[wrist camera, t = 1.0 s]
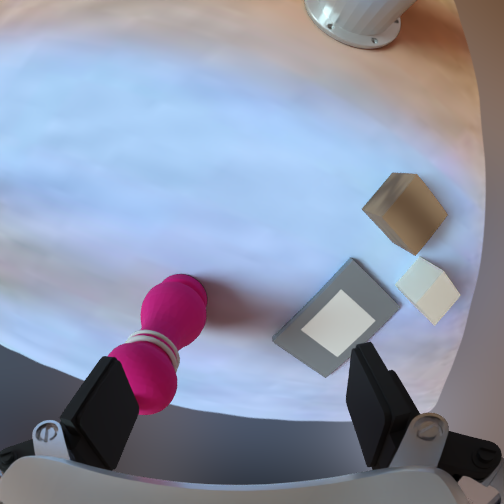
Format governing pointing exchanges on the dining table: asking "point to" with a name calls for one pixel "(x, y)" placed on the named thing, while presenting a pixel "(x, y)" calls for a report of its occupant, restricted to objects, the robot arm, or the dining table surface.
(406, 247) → the walnut block
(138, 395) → the pepper mill
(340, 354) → the pad
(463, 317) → the dining table surface
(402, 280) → the cream block
